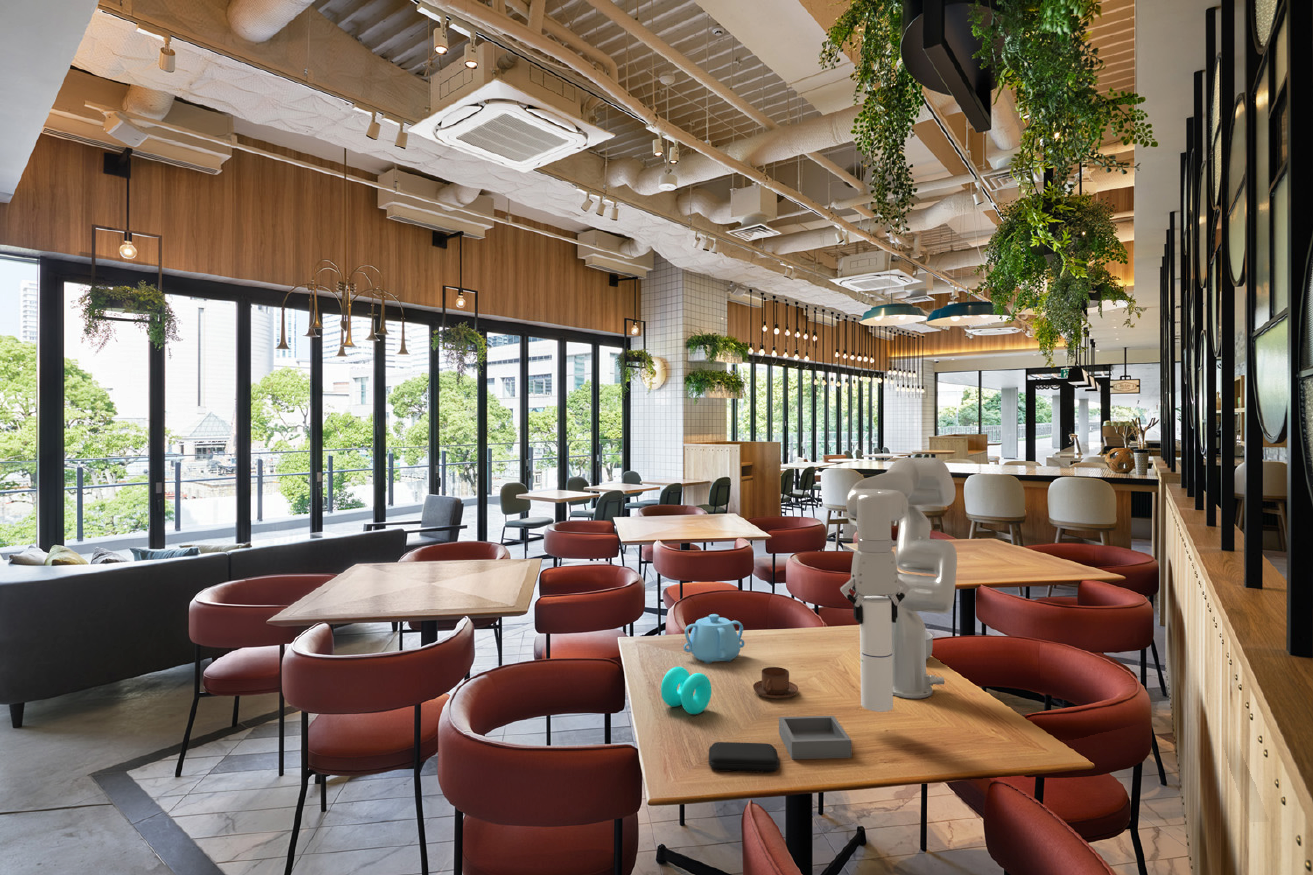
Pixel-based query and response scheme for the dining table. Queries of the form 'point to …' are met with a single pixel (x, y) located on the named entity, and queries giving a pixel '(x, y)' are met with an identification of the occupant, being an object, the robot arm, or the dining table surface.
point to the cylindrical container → (876, 654)
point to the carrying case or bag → (743, 757)
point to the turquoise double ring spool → (686, 690)
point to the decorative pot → (714, 639)
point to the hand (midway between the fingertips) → (875, 621)
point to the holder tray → (814, 737)
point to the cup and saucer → (775, 684)
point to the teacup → (929, 644)
